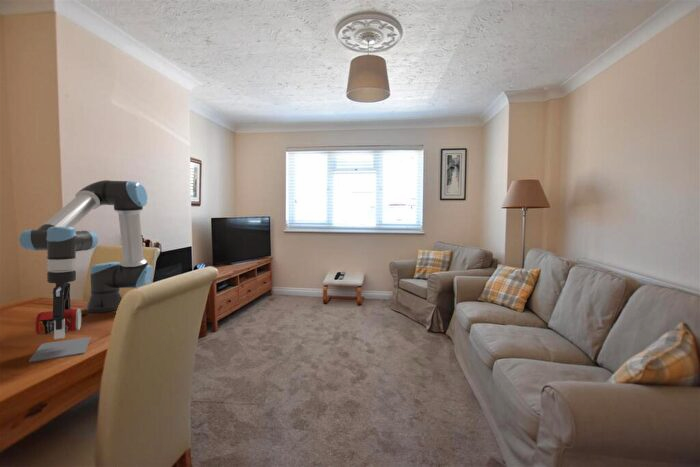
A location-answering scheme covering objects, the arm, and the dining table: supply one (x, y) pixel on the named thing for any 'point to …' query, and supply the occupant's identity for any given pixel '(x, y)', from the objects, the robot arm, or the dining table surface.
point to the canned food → (47, 326)
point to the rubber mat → (60, 349)
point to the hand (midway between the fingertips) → (62, 334)
